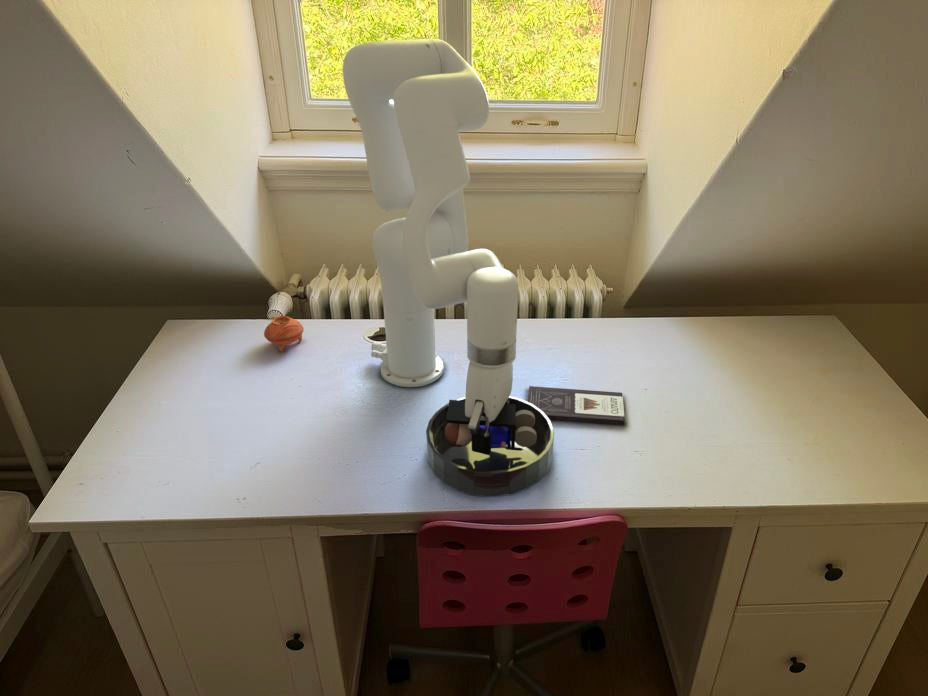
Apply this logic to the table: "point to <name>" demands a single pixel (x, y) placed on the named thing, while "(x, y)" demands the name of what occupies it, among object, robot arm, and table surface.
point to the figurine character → (492, 427)
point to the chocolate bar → (578, 405)
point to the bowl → (490, 458)
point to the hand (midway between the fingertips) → (490, 436)
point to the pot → (283, 331)
